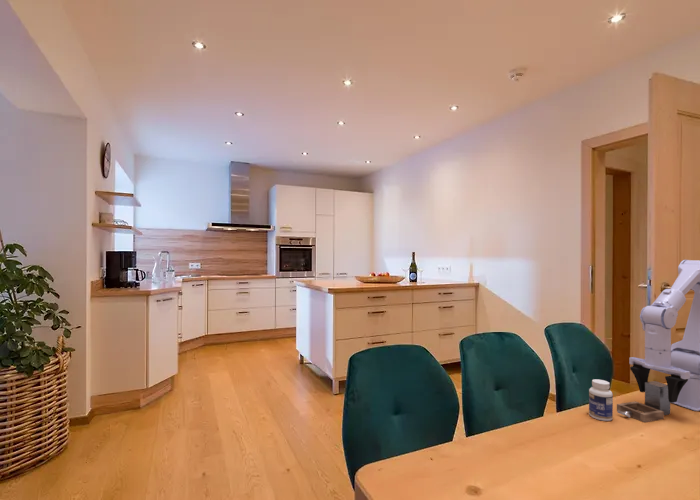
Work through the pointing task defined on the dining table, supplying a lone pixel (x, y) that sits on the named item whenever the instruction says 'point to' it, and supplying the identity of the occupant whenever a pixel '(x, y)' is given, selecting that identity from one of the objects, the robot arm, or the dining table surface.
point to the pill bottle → (600, 400)
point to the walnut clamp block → (646, 416)
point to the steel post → (657, 396)
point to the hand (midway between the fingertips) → (657, 396)
